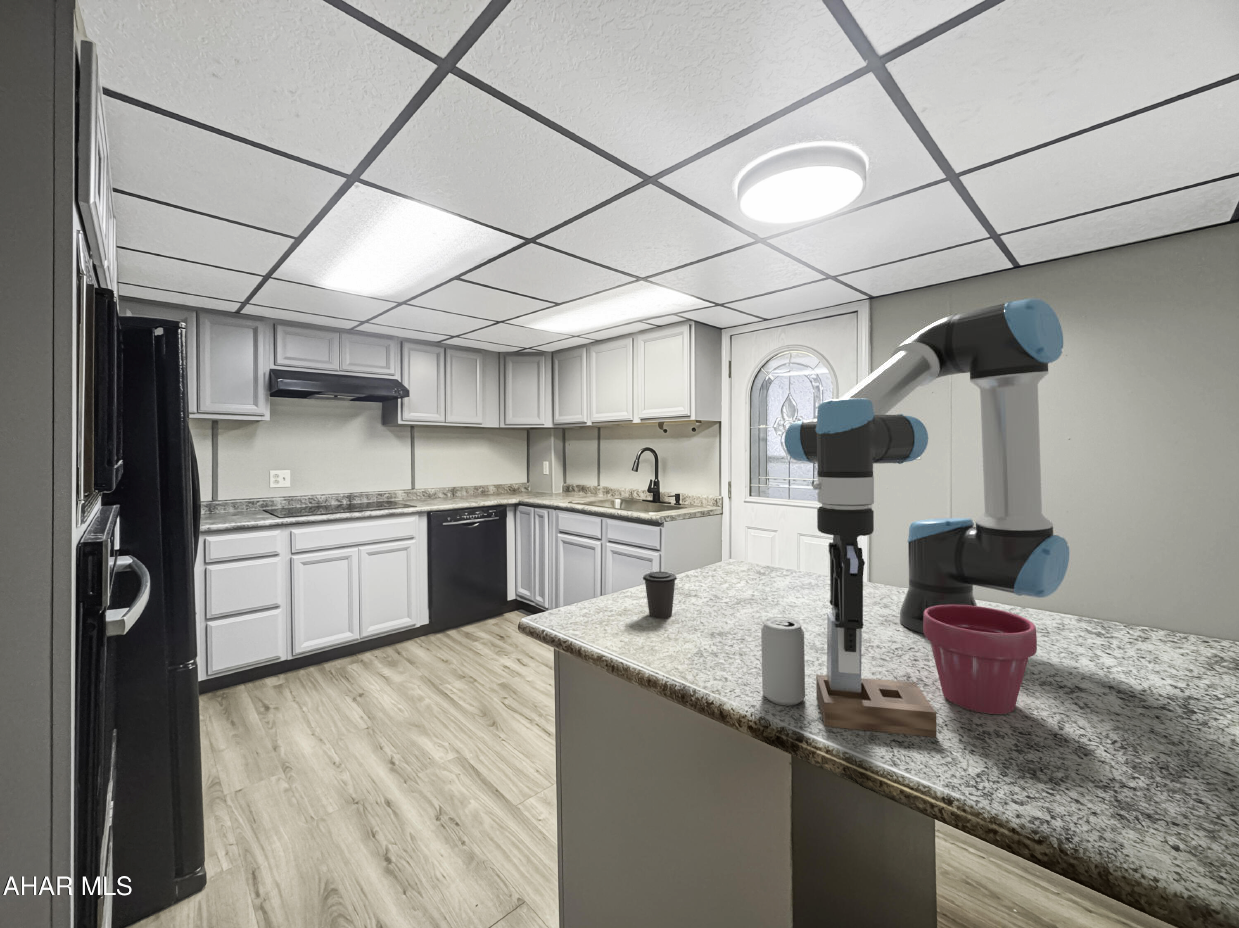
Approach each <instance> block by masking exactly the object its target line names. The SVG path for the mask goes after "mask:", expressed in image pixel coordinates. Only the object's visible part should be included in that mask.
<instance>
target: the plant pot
mask: <svg viewBox="0 0 1239 928" xmlns="http://www.w3.org/2000/svg"><path fill="white" fill-rule="evenodd" d="M923 629H924V634H923V635H924V637H925V638H926V639H927V640H928V641H930V646H931V650H932V655H933V658H934V663H935V667H936V671H937V675H938V679H939V680H938V681H939V684H940V687H941V691H942V694H943V696H944V698H946V700H948V701H950V702H951V703H953V704H954V705H956V706H958V707H961V708H963V709H967V710H970V711H972V712H977V713H983V714H989V715H1006V714H1010V713H1012V712H1013V711H1014V710H1015V709H1016V706H1017V701H1018V698H1019V694H1020V690H1021V687H1022V683H1023V681H1024V676H1025V673H1026V669H1027V665H1028V661H1029V658H1031V657H1033V656H1035V655H1036V653H1037V650H1038V649H1037V648H1038V642H1037V641H1038V640H1037V628H1036V625H1035V624H1034V623H1033V621H1031V620H1030V619H1027V618H1026V617H1023V616H1021V615H1018V614H1015V613H1012V612H1009V611H1006V610H1001V609H997V608H991V607H986V606H978V605H977V606H970V605H938V606H933V607H929V608H927V609H926V610H925V611H924V617H923Z"/></svg>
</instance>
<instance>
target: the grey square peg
mask: <svg viewBox="0 0 1239 928" xmlns="http://www.w3.org/2000/svg"><path fill="white" fill-rule="evenodd" d="M826 615H827V616H826V619H827V623H826V624H827V625H826V627H827V628H826V630H827V631H826V636H827V637H826V675H827V679H828V682H829V685H830V688H831V690H838V691H848V692H858V693H861V678H862V648H863V647H862V638H863V637H862V635H863V634H862V633H863V629H859V661H860V674H856V673H843V672H839V671H838V628H835V626H834V623H839V622H840V614H839V606H832V607H831V612H826Z"/></svg>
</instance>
